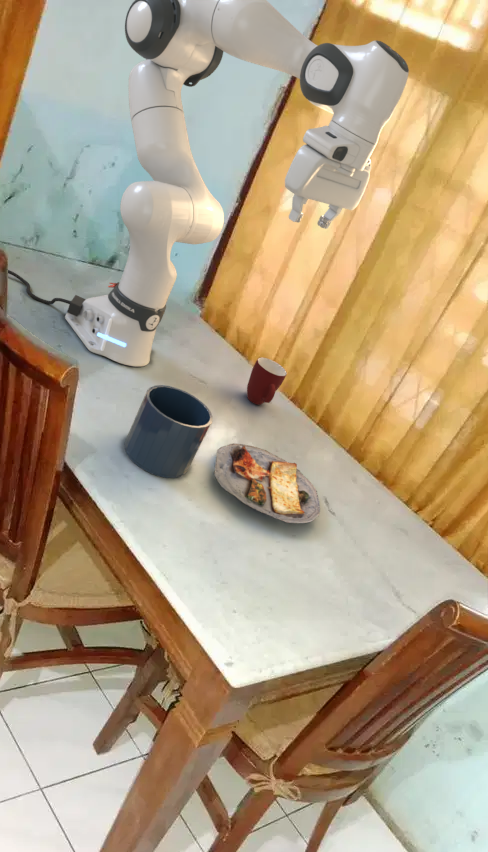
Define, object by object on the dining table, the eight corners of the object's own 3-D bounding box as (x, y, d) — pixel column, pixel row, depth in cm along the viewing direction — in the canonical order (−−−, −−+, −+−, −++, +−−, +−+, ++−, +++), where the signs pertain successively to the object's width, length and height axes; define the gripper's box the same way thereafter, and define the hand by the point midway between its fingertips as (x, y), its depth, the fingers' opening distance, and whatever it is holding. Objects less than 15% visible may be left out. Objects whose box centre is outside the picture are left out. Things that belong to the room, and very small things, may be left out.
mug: (277, 418, 178) (296, 384, 173) (251, 413, 173) (269, 378, 168) (261, 393, 185) (278, 360, 180) (235, 388, 180) (252, 354, 175)
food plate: (216, 437, 156) (222, 424, 155) (311, 478, 161) (318, 466, 160) (206, 501, 135) (214, 487, 134) (316, 545, 140) (324, 532, 139)
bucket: (110, 438, 137) (132, 387, 131) (159, 431, 148) (182, 383, 141) (152, 482, 132) (177, 431, 126) (200, 472, 142) (225, 424, 136)
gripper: (361, 152, 134) (326, 222, 142) (300, 127, 119) (263, 207, 126) (386, 168, 132) (349, 238, 139) (327, 145, 116) (288, 225, 123)
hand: (308, 223), depth 132 cm, fingers open, 8 cm apart
